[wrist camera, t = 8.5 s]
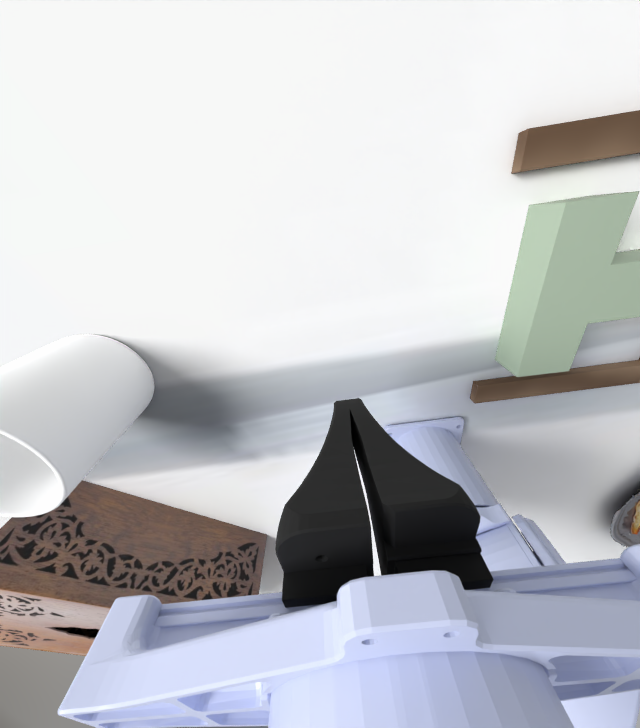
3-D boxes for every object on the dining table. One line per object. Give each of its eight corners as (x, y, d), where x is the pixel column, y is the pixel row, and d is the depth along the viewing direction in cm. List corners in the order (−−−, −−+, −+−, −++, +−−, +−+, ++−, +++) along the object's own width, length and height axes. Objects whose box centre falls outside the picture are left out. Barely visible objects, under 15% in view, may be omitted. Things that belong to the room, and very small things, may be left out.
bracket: (650, 375, 24) (660, 380, 24) (470, 398, 25) (474, 403, 24) (819, 83, 15) (844, 76, 14) (518, 132, 15) (528, 128, 15)
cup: (170, 409, 25) (91, 514, 16) (44, 415, 25) (-106, 524, 16) (137, 328, 21) (7, 408, 12) (-13, 335, 21) (-259, 421, 12)
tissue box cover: (267, 532, 36) (253, 632, 27) (227, 576, 42) (204, 670, 33) (58, 471, 29) (-52, 580, 20) (45, 533, 34) (-46, 639, 26)
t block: (622, 343, 23) (662, 359, 20) (494, 359, 23) (516, 377, 21) (702, 178, 17) (772, 170, 14) (528, 205, 17) (566, 202, 15)
